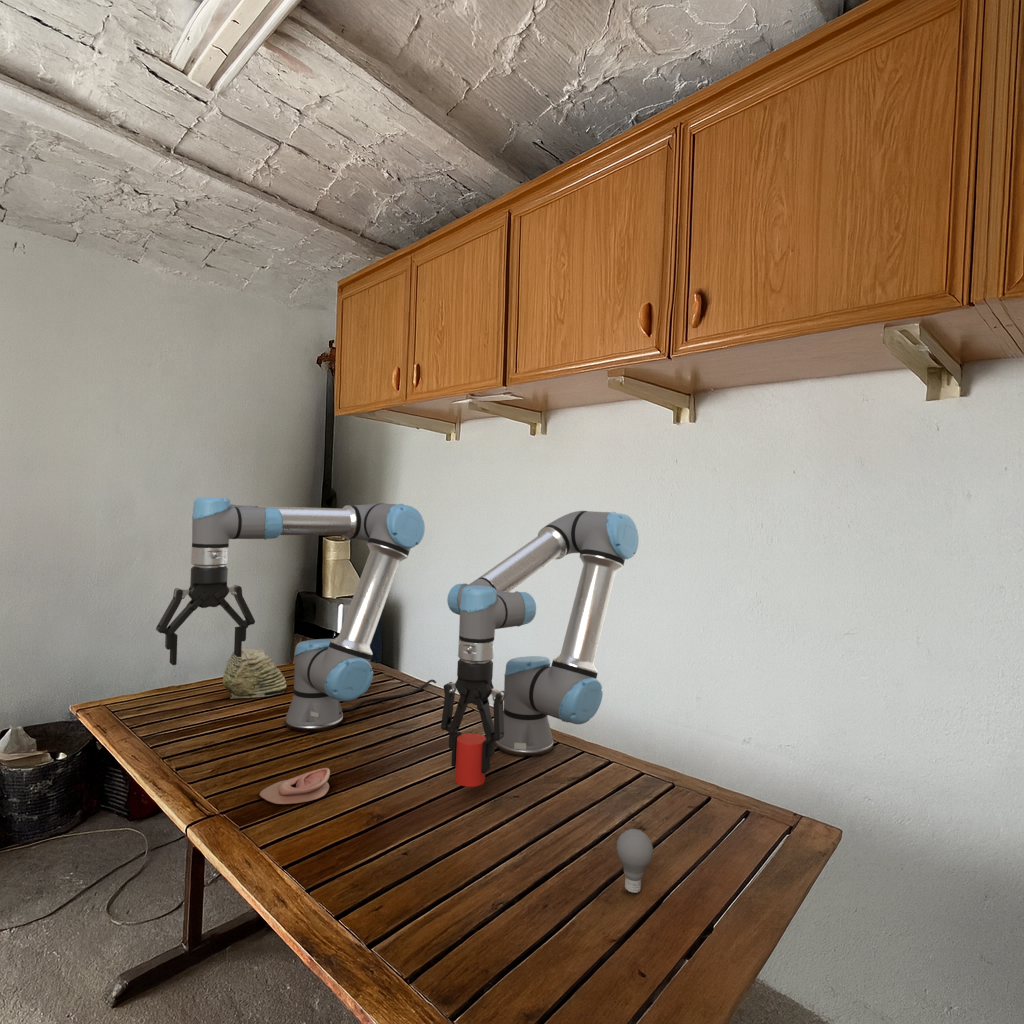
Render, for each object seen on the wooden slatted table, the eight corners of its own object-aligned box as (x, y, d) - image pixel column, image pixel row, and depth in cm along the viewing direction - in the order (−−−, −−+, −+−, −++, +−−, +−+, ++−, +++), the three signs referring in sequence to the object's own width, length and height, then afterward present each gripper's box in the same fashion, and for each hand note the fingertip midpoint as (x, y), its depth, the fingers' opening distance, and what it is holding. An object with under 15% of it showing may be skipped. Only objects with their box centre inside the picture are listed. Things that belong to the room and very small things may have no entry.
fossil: (218, 695, 195) (220, 647, 195) (278, 685, 208) (279, 640, 207) (228, 703, 189) (230, 653, 188) (289, 692, 201) (290, 645, 201)
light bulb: (610, 879, 108) (613, 822, 108) (644, 879, 109) (647, 822, 109) (619, 902, 102) (622, 840, 102) (655, 901, 103) (658, 840, 103)
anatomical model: (251, 781, 130) (282, 759, 142) (250, 800, 131) (281, 776, 142) (310, 789, 128) (337, 767, 139) (309, 809, 128) (336, 784, 139)
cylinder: (465, 771, 139) (467, 731, 139) (490, 778, 136) (492, 737, 136) (449, 781, 133) (451, 739, 133) (474, 789, 130) (476, 746, 130)
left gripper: (150, 569, 131) (147, 671, 132) (271, 565, 148) (268, 655, 148) (143, 565, 137) (139, 663, 137) (259, 562, 153) (256, 649, 154)
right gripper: (426, 657, 134) (421, 764, 135) (511, 670, 127) (505, 784, 127) (443, 650, 141) (439, 752, 142) (524, 662, 134) (519, 770, 134)
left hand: (206, 659), depth 143 cm, fingers open, 13 cm apart
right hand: (470, 767), depth 135 cm, fingers closed on cylinder, 6 cm apart
